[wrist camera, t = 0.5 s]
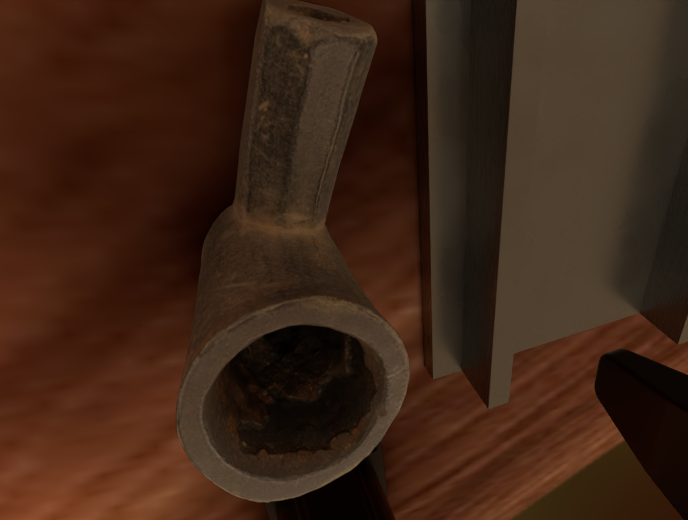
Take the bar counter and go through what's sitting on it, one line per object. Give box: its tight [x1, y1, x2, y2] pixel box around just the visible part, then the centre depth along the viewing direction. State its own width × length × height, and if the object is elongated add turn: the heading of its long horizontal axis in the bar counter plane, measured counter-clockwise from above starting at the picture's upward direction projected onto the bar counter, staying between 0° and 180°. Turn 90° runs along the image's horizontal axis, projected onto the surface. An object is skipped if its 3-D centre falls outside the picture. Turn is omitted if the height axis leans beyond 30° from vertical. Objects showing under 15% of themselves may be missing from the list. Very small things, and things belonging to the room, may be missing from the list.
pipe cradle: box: [413, 0, 688, 409], centre depth 20 cm, size 22×14×5 cm, turn 6°
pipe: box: [176, 0, 410, 503], centre depth 16 cm, size 6×13×8 cm, turn 167°
